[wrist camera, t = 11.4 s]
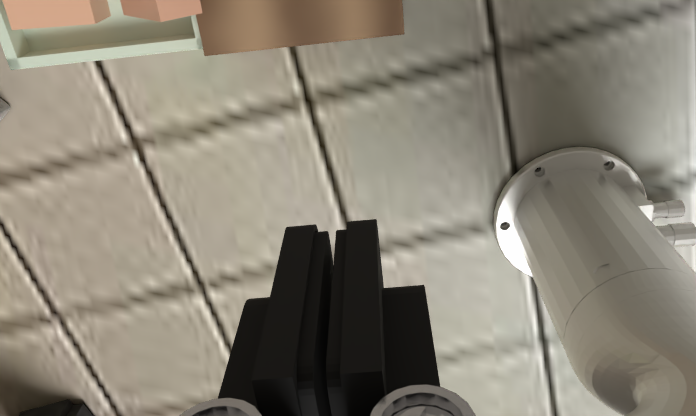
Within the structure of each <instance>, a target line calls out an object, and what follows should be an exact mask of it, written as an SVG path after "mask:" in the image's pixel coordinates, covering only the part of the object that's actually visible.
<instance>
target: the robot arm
mask: <svg viewBox="0 0 696 416" xmlns="http://www.w3.org/2000/svg"><path fill="white" fill-rule="evenodd" d="M607 161H608V162H607ZM606 162H607V163H606ZM605 163H606V164H605ZM539 167H540V168H539ZM537 168H539V169H538V170H535V169H537ZM684 213H685V206H684V203H683V201H682V200H671V201H664V202H657V203H653V202H652V201H651V200H647V195H646V192H645V188H644V185H643V184H642V182H641V180H640V178H639V177H638V175H637V174H636V173H635V172H634V170H633V169H632V168H631V167H630V166H629V165H628V164H627V163H625V162H624V161H623V160H622V159H621V158H619V157H617V156H615V155H613V154H611V153H609V152H607V151H603V150H600V149H596V148H589V147H572V148H563V149H559V150H556V151H552V152H549V153H547V154H544V155H542V156H540V157H538V158H535V159H534V160H532V161H531V162H529V163H528V164H526V165H525V166H523V167H522V168H521V169H520V170H519V171H518V172H517V173H516V174H515V175H514V176H512V178H511V179H510V180H509V182H508V183H507V184H506V186H505V187H504V188H503V190H502V192H501V194H500V196H499V198H498V200H497V204H496V207H495V211H494V224H493V225H494V231H495V236H496V239H497V242H498V245H499V247H500V249H501V251H502V252H503V254H504V256H505V257H506V258H507V260H508V261H509V262H510V263H511V264H512V265H513V266H514V267H516V268H517V269H519V270H520V271H521V272H523V273H525V274H527V275H529V276H531V277H533V279H534V281H535V283H536V285H537V288H538V290H539V292H540V295H541V297H542V299H543V301H544V304H545V306H546V308H547V311H548V313H549V315H550V317H551V320H552V322H553V324H554V327H555V329H556V331H557V333H558V336H559V338H560V340H561V343H562V345H563V347H564V349H565V352H566V354H567V357H568V359H569V361H570V363H571V366H572V368H573V370H574V372H575V374H576V375H577V377H578V379H579V380H580V382H581V383H582V384H583V385H584V387H585V388H586V389H587V390H588V391H589V392H590V393H591V394H592V395H593V396H594V397H596V398H597V399H598V400H599V401H600V402H601V403H603V404H604V405H606V406H607V407H609V408H611V409H612V410H614V411H616V412H617V413H619V414H621V415H623V416H696V273H695V272H694V270H693V269H692V268H691V267H690V266H689V265H688V264H687V262H686V261H685V260H684V259H683V258H682V257H681V255H680V254H679V253H678V252H677V251H676V250H675V249H674V247H682V246H694V245H695V244H696V227H695V226H694V224H693V223H691V222H688V223H676V224H668V225H665V226H655V225H654V224H653V223H652V222H653V221H654V219H655V218H664V217H665V218H673V217H682V216H684ZM502 222H504V223H502ZM180 416H476V415H475V413H474V412H473V410H472V409H471V407H470V406H469V404H468V403H467V402H466V401H465V400H464V399H462V398H461V397H460V396H459V395H457V394H456V393H454V392H452V391H449V390H447V389H445V388H442V387H440V382H439V376H438V370H437V363H436V357H435V350H434V344H433V337H432V331H431V324H430V318H429V312H428V305H427V299H426V292H425V287H424V285H418V286H405V287H393V288H384V286H383V276H382V266H381V257H380V247H379V237H378V228H377V220H376V219H373V220H362V221H351V222H347V230H337V231H336V241H335V254H334V266H333V259H332V252H331V245H330V239H329V234H328V231H324V232H318V229H317V226H316V225H305V226H294V227H286V229H285V234H284V238H283V242H282V247H281V251H280V256H279V260H278V264H277V269H276V273H275V278H274V282H273V286H272V291H271V295H270V297H267V298H255V299H248V300H247V301H246V303H245V305H244V308H243V312H242V315H241V319H240V322H239V326H238V329H237V333H236V336H235V340H234V343H233V347H232V350H231V354H230V357H229V361H228V364H227V368H226V371H225V375H224V379H223V382H222V386H221V389H220V393H219V396H218V399H213V400H209V401H206V402H203V403H199V404H197V405H196V406H194V407H192V408H190V409H188V410H186V411H184V412H183V413H182V414H181V415H180Z"/></svg>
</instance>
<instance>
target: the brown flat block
mask: <svg viewBox="0 0 696 416" xmlns="http://www.w3.org/2000/svg"><path fill="white" fill-rule="evenodd" d="M200 3H201V8H202V13H201V14H196V18H197V23H198V28H199V32H200V37H201V41H202V46H203V50H204V55H205V56H209V55H218V54H227V53H237V52H246V51H255V50H264V49H273V48H282V47H292V46H301V45H310V44H319V43H328V42H337V41H346V40H356V39H365V38H374V37H383V36H392V35H401V34H404V21H403V6H402V0H200Z"/></svg>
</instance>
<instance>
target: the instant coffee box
mask: <svg viewBox="0 0 696 416" xmlns="http://www.w3.org/2000/svg"><path fill="white" fill-rule="evenodd" d="M9 110H10V106H9V105H8V104H7V103H6V102H5V101H3V100H2V99H1V98H0V121H1V120H2V118H3V117H4V116H5V115H6V114H7V112H8V111H9Z"/></svg>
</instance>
